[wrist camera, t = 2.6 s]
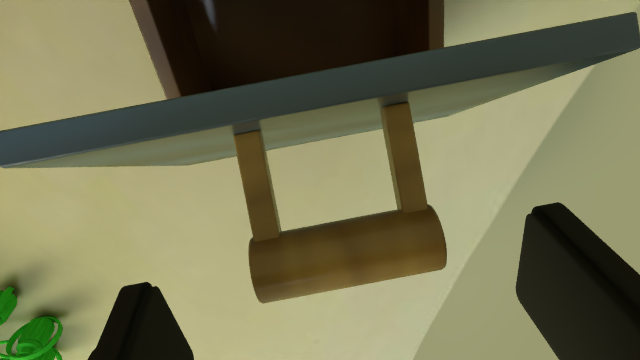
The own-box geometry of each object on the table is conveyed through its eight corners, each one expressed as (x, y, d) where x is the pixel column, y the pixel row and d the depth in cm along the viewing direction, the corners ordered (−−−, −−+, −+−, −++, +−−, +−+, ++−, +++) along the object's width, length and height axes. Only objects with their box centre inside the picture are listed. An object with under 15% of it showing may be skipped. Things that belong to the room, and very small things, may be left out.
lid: (-10, 132, 9) (44, 375, 9) (637, 10, 9) (675, 255, 9) (184, 150, 21) (204, 250, 22) (445, 101, 21) (462, 201, 22)
